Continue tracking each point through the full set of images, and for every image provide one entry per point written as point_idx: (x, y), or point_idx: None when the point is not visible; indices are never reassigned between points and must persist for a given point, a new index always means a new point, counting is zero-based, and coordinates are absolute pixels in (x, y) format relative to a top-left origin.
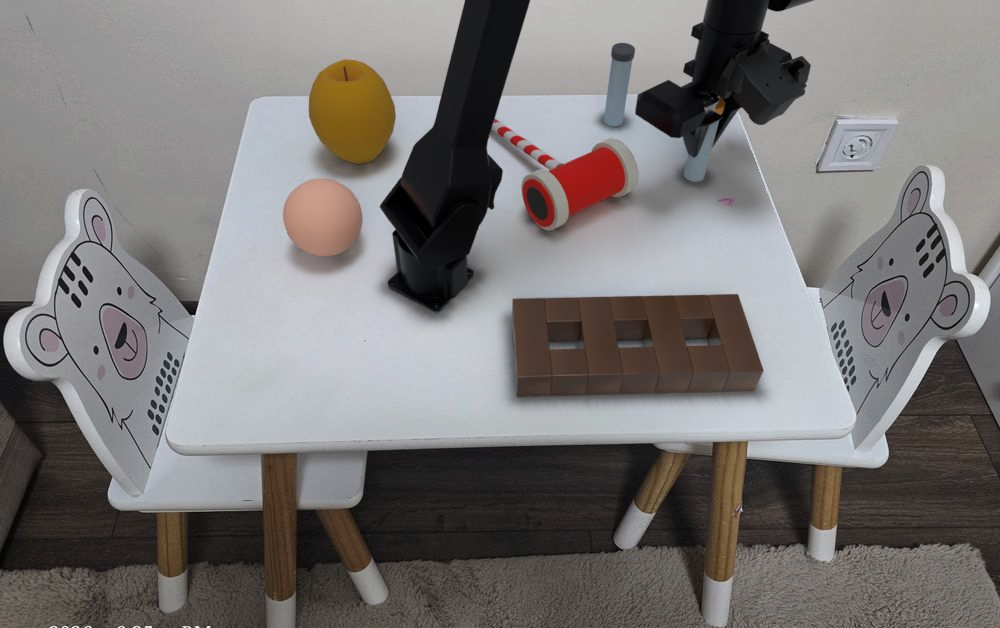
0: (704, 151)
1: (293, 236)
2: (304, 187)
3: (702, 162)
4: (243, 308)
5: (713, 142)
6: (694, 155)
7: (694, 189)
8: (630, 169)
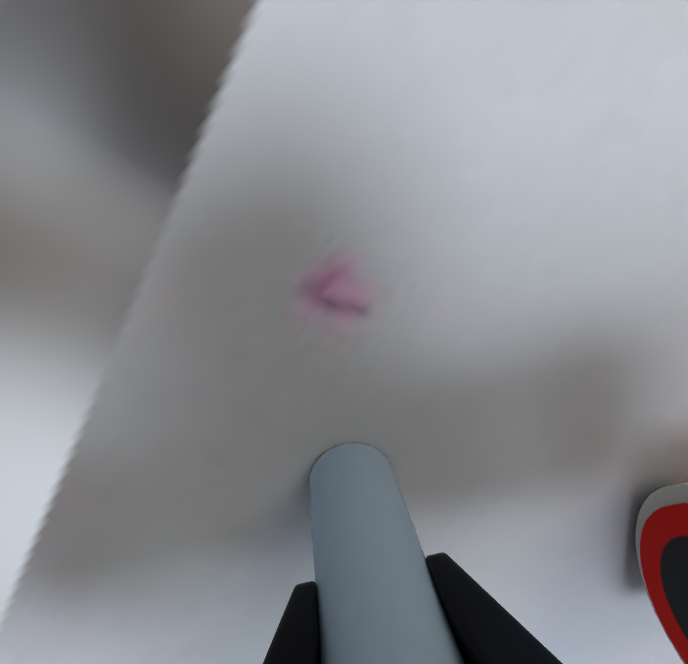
0: (407, 572)
1: None
2: None
3: (387, 512)
4: None
5: (316, 619)
6: (455, 564)
7: (404, 412)
8: None
